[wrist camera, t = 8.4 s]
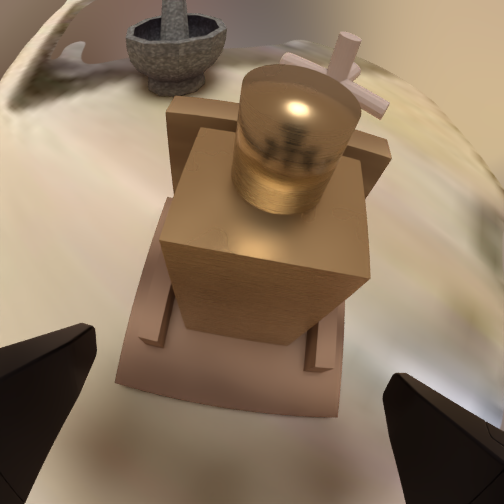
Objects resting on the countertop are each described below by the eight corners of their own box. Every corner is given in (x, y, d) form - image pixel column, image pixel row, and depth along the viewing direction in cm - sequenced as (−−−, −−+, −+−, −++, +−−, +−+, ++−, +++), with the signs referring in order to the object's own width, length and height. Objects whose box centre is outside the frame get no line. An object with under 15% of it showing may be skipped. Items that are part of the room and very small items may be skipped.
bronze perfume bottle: (287, 346, 16) (436, 215, 5) (185, 328, 16) (138, 152, 5) (294, 273, 18) (396, 92, 7) (202, 256, 18) (203, 48, 7)
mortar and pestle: (227, 101, 27) (241, -12, 17) (131, 113, 25) (118, -2, 14) (210, 55, 32) (217, -30, 21) (134, 63, 30) (129, -23, 19)
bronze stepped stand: (329, 416, 15) (450, 417, 6) (120, 384, 15) (20, 354, 6) (338, 239, 21) (409, 132, 12) (168, 207, 20) (153, 78, 12)
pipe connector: (344, 179, 24) (395, 82, 15) (246, 123, 26) (263, 23, 17) (378, 130, 28) (416, 55, 20) (298, 86, 30) (320, 9, 21)
